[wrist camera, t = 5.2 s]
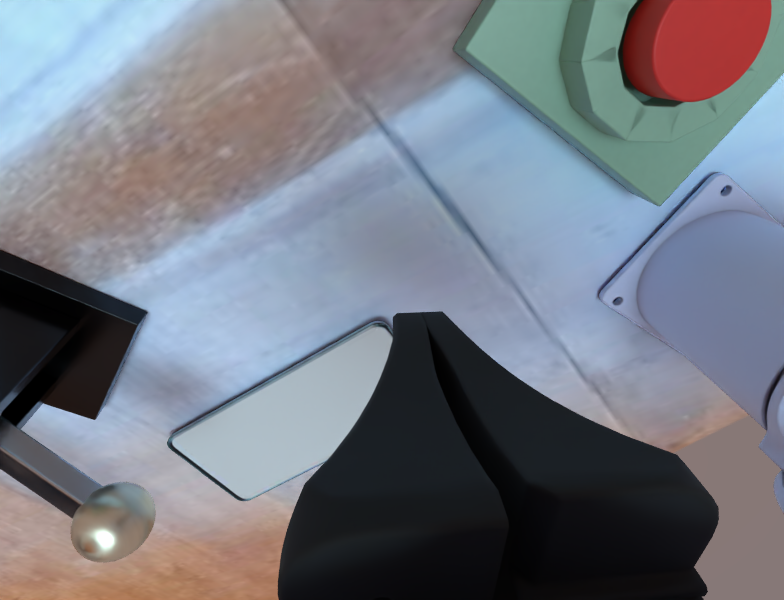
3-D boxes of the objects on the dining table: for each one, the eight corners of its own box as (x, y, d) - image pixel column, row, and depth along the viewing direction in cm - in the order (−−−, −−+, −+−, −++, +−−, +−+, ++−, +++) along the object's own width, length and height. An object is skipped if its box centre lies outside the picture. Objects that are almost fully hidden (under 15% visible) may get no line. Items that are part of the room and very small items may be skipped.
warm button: (750, 19, 15) (797, 16, 13) (666, 118, 16) (699, 125, 15) (684, -57, 14) (726, -70, 12) (599, 56, 15) (628, 57, 13)
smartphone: (161, 443, 26) (382, 319, 23) (164, 436, 26) (381, 313, 23) (242, 504, 29) (444, 402, 26) (244, 497, 29) (442, 396, 26)
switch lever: (180, 494, 18) (129, 551, 15) (156, 532, 19) (104, 592, 16) (-41, 341, 18) (-130, 374, 15) (-53, 388, 19) (-138, 426, 16)
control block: (776, 30, 18) (876, 26, 15) (632, 193, 21) (687, 221, 18) (596, -185, 15) (674, -257, 11) (451, 49, 18) (477, 50, 14)
